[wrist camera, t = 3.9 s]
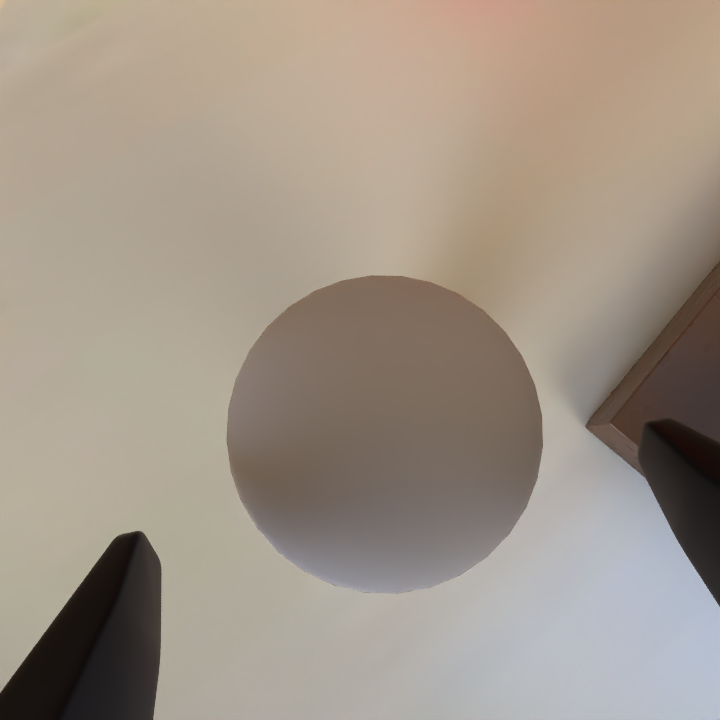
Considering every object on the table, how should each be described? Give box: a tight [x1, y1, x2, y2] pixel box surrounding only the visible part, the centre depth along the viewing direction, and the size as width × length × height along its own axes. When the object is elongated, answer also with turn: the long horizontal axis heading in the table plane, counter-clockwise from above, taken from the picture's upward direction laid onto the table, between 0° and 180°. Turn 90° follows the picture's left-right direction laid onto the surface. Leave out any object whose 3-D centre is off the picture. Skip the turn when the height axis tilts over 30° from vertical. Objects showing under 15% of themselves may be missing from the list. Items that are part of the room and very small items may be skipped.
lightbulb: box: [227, 276, 543, 593], centre depth 14 cm, size 6×6×11 cm
